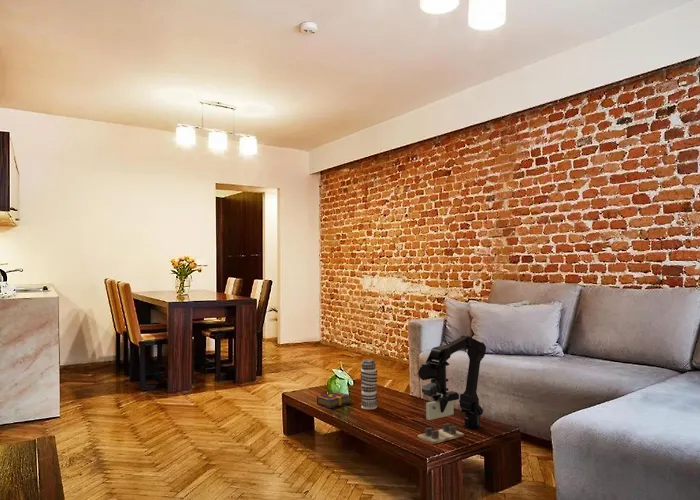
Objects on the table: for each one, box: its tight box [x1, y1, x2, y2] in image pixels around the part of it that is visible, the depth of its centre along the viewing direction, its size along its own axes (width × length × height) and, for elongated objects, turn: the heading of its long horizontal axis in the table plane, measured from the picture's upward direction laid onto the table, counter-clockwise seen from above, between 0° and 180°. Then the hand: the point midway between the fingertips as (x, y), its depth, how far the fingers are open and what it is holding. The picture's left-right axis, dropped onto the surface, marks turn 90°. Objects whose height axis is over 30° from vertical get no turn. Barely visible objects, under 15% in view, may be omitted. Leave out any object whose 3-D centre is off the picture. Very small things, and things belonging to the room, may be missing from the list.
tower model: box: [359, 358, 378, 410], centre depth 269 cm, size 9×9×25 cm
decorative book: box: [316, 391, 351, 409], centre depth 277 cm, size 11×16×5 cm
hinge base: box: [417, 422, 465, 445], centre depth 223 cm, size 18×10×4 cm, turn 121°
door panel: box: [425, 400, 455, 421], centre depth 222 cm, size 14×3×7 cm, turn 121°
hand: (440, 411), depth 223 cm, fingers closed on door panel, 2 cm apart
